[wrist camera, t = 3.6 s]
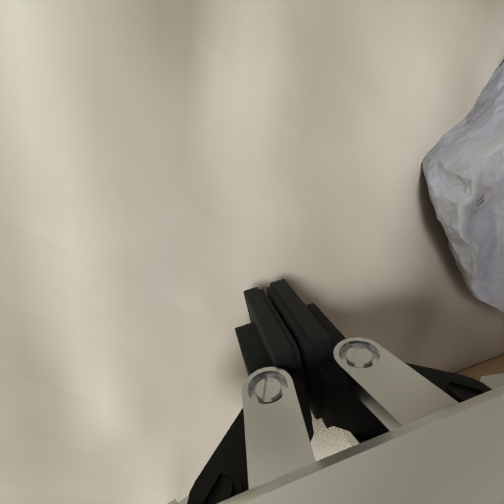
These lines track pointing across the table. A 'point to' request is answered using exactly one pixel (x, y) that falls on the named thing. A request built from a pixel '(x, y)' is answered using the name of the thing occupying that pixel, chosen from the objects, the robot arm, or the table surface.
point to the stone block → (474, 192)
